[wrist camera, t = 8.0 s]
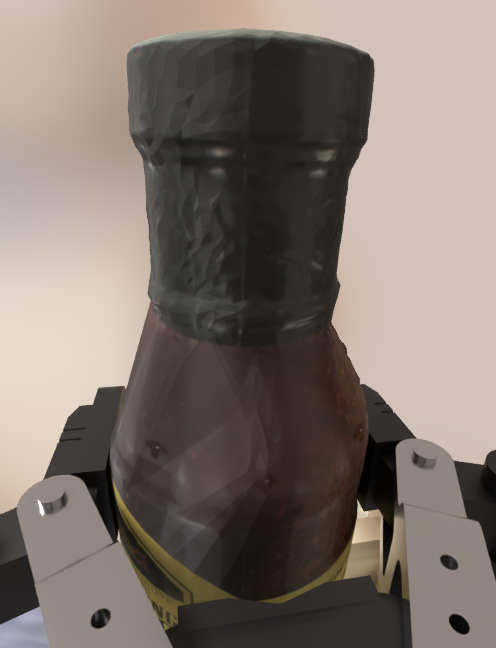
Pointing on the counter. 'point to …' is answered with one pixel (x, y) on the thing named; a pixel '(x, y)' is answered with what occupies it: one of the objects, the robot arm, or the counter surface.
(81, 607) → the robot arm
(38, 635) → the counter surface
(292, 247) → the sauce bottle
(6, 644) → the counter surface
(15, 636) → the counter surface
